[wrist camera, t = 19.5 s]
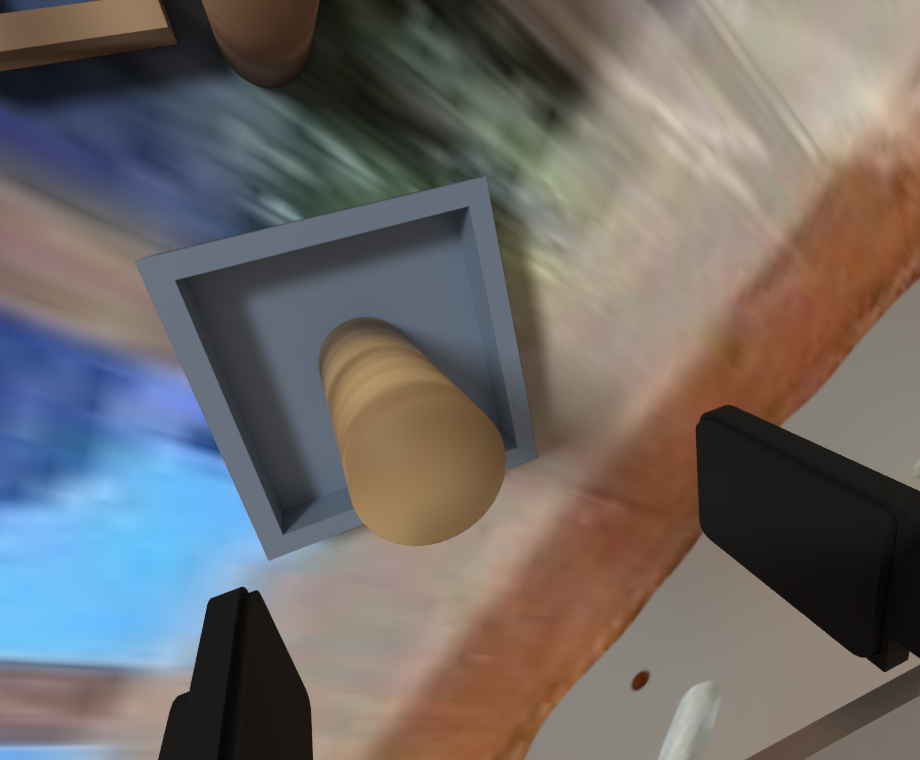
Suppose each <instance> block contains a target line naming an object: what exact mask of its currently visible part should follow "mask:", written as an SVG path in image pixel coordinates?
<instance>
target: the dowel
mask: <svg viewBox="0 0 920 760" xmlns="http://www.w3.org/2000/svg"><path fill="white" fill-rule="evenodd" d="M318 366H319V372H320V376H321V380H322V385H323V389H324V393H325V397H326V401H327V405H328V409H329V413H330V417H331V421H332V425H333V429H334V433H335V437H336V441H337V445H338V450H339V454H340V458H341V462H342V466H343V470H344V474H345V478H346V482H347V486H348V490H349V494H350V498H351V502H352V505H353V507H354V509H355V512H356V513H357V515H358V517H359V518H360V520H361V521H362V522H363V523H364V524H365V525H366V527H367V528H369V529H370V530H371V531H372V532H373V533H375V534H376V535H378V536H380V537H381V538H383V539H386V540H388V541H390V542H394V543H397V544H402V545H409V546H422V545H431V544H435V543H439V542H442V541H445V540H448V539H451V538H453V537H455V536H457V535H459V534H461V533H462V532H464V531H465V530H467V529H468V528H470V527H471V526H472V525H474V524H475V523H476V522H477V521H478V520H479V519H480V518H481V517H482V516H483V515H484V514H485V513H486V512H487V511H488V509H489V508H490V506H491V505H492V504H493V502H494V501H495V499H496V497H497V495H498V493H499V491H500V488H501V486H502V483H503V479H504V475H505V467H506V454H505V447H504V444H503V440H502V437H501V435H500V433H499V431H498V429H497V428H496V426H495V425H494V423H493V422H492V421H491V420H490V419H489V417H488V416H487V415H486V414H485V413H484V412H483V411H482V410H480V409H479V408H478V407H477V406H476V405H475V404H474V403H473V402H472V401H471V400H470V399H469V398H468V397H467V396H466V395H465V394H464V393H463V392H462V391H461V390H460V389H459V388H458V387H457V386H456V385H455V384H453V383H452V382H451V381H450V380H449V379H448V378H447V377H446V376H445V375H444V374H443V373H442V372H441V371H440V370H439V369H438V368H437V367H436V366H435V365H434V364H433V363H432V362H431V361H430V360H429V359H427V358H426V357H425V356H424V355H423V354H422V353H421V352H420V351H419V350H418V349H417V348H416V347H415V346H414V345H413V344H412V343H411V342H410V341H409V340H408V339H407V338H406V337H405V336H404V335H403V334H401V333H400V332H399V331H398V330H397V329H396V328H395V327H394V326H392V325H391V324H389V323H388V322H386V321H383V320H381V319H377V318H372V317H359V318H354V319H351V320H348V321H346V322H344V323H342V324H340V325H339V326H337V327H336V328H335V329H333V330H332V331H331V332H330V334H329V335H328V336H327V337H326V339H325V340H324V342H323V344H322V346H321V349H320V353H319V359H318Z"/></svg>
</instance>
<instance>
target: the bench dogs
mask: <svg viewBox="0 0 920 760" xmlns="http://www.w3.org/2000/svg"><path fill="white" fill-rule="evenodd" d="M319 1H320V0H202V3H203V6H204V8H205V11H206V14H207V17H208V20H209V22H210V25H211V28H212V31H213V33H214V36H215V39H216V42H217V44H218V47H219V49H220V52H221V54H222V55H223V57H224V59H225V60H226V62H227V63H228V64H229V66H230V67H231V68H232V69H233V70H234V71H235V72H236V73H237V74H238V75H240V76H241V77H242V78H244V79H245V80H247V81H249V82H251V83H253V84H255V85H259V86H262V87H272V88H273V87H281V86H285V85H287V84H289V83H291V82H293V81H294V80H295V79H296V78H298V77H299V76H300V74H301V73H302V72H303V70H304V69H305V67H306V65H307V62H308V59H309V55H310V49H311V44H312V39H313V33H314V28H315V23H316V17H317V12H318V6H319Z"/></svg>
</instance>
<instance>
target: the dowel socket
mask: <svg viewBox="0 0 920 760" xmlns="http://www.w3.org/2000/svg"><path fill="white" fill-rule="evenodd" d="M176 44H178V43H177V40H176V37H175V34H174V32H173V29H172V26H171V23H170V20H169V18H168V15H167V12H166V9H165V7H164V4H163V1H162V0H101V1H93V2H86V3H78V4H71V5H63V6H55V7H48V8H40V9H33V10H25V11H17V12H10V13H2V14H0V71H7V70H13V69H20V68H26V67H33V66H39V65H46V64H52V63H59V62H65V61H72V60H78V59H85V58H91V57H98V56H104V55H111V54H117V53H124V52H130V51H137V50H143V49H150V48H156V47H163V46H169V45H176Z"/></svg>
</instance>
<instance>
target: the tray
mask: <svg viewBox="0 0 920 760" xmlns="http://www.w3.org/2000/svg"><path fill="white" fill-rule="evenodd" d="M135 263H136V265H137V267H138V270H139V272H140V274H141V276H142V278H143V281H144V283H145V285H146V287H147V290H148V292H149V294H150V296H151V299H152V301H153V303H154V305H155V308H156V310H157V312H158V314H159V317H160V319H161V321H162V323H163V325H164V328H165V330H166V332H167V334H168V337H169V339H170V341H171V343H172V346H173V348H174V350H175V352H176V355H177V357H178V359H179V361H180V363H181V366H182V368H183V370H184V372H185V375H186V377H187V379H188V381H189V384H190V386H191V388H192V390H193V393H194V395H195V397H196V399H197V402H198V404H199V406H200V408H201V410H202V413H203V415H204V417H205V419H206V422H207V424H208V426H209V428H210V431H211V433H212V435H213V437H214V440H215V442H216V444H217V446H218V448H219V451H220V453H221V455H222V457H223V460H224V462H225V464H226V466H227V469H228V471H229V473H230V475H231V478H232V480H233V482H234V484H235V487H236V489H237V491H238V493H239V495H240V498H241V500H242V502H243V504H244V507H245V509H246V511H247V513H248V516H249V518H250V520H251V522H252V525H253V527H254V529H255V531H256V533H257V536H258V538H259V540H260V542H261V545H262V547H263V549H264V551H265V554H266V556H267V558H268V560H272V559H274V558H277V557H280V556H282V555H285V554H287V553H290V552H293V551H295V550H298V549H300V548H303V547H306V546H308V545H311V544H313V543H316V542H319V541H321V540H324V539H326V538H329V537H332V536H334V535H337V534H339V533H342V532H345V531H347V530H350V529H352V528H355V527H358V526H360V525H363V524H364V523H363V522H362V521H361V520H360V518H359V517H358V515H357V513H356V512H355V509H354V507H353V505H352V502H351V498H350V494H349V490H348V486H347V482H346V478H345V474H344V470H343V466H342V462H341V458H340V454H339V450H338V445H337V441H336V437H335V433H334V429H333V425H332V421H331V417H330V413H329V409H328V405H327V401H326V397H325V393H324V389H323V385H322V380H321V376H320V372H319V366H318V359H319V353H320V349H321V346H322V344H323V342H324V340H325V339H326V337H327V336H328V335H329V334H330V332H331V331H332V330H333V329H335V328H336V327H337V326H339V325H340V324H342V323H344V322H346V321H348V320H351V319H354V318H359V317H372V318H377V319H381V320H383V321H386V322H388V323H389V324H391V325H392V326H394V327H395V328H396V329H397V330H398V331H399V332H400V333H401V334H403V335H404V336H405V337H406V338H407V339H408V340H409V341H410V342H411V343H412V344H413V345H414V346H415V347H416V348H417V349H418V350H419V351H420V352H421V353H422V354H423V355H424V356H425V357H426V358H427V359H429V360H430V361H431V362H432V363H433V364H434V365H435V366H436V367H437V368H438V369H439V370H440V371H441V372H442V373H443V374H444V375H445V376H446V377H447V378H448V379H449V380H450V381H451V382H452V383H453V384H455V385H456V386H457V387H458V388H459V389H460V390H461V391H462V392H463V393H464V394H465V395H466V396H467V397H468V398H469V399H470V400H471V401H472V402H473V403H474V404H475V405H476V406H477V407H478V408H479V409H480V410H482V411H483V412H484V413H485V414H486V415H487V416H488V417H489V419H490V420H491V421H492V422H493V423H494V425H495V426H496V428H497V429H498V431H499V433H500V435H501V437H502V440H503V444H504V447H505V454H506V467H505V470H506V469H509V468H511V467H514V466H517V465H519V464H522V463H524V462H527V461H530V460H532V459H535V458H537V457H538V454H537V449H536V443H535V438H534V433H533V427H532V422H531V416H530V411H529V406H528V400H527V395H526V390H525V384H524V379H523V373H522V368H521V363H520V357H519V352H518V347H517V341H516V336H515V330H514V325H513V320H512V314H511V309H510V304H509V298H508V293H507V287H506V282H505V277H504V271H503V266H502V261H501V255H500V250H499V244H498V239H497V234H496V228H495V223H494V218H493V212H492V207H491V201H490V196H489V191H488V185H487V180H486V177H480V178H475V179H470V180H465V181H460V182H456V183H452V184H448V185H443V186H439V187H435V188H431V189H427V190H422V191H418V192H414V193H410V194H406V195H402V196H397V197H393V198H389V199H385V200H381V201H377V202H372V203H368V204H364V205H360V206H356V207H351V208H347V209H343V210H339V211H335V212H331V213H326V214H322V215H318V216H314V217H310V218H305V219H301V220H297V221H293V222H289V223H285V224H280V225H276V226H272V227H268V228H264V229H260V230H255V231H251V232H247V233H243V234H239V235H234V236H230V237H226V238H222V239H218V240H214V241H209V242H205V243H201V244H197V245H193V246H189V247H184V248H180V249H176V250H172V251H168V252H163V253H159V254H155V255H152V256H148V257H145V258H142V259H139V260H135Z"/></svg>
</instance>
